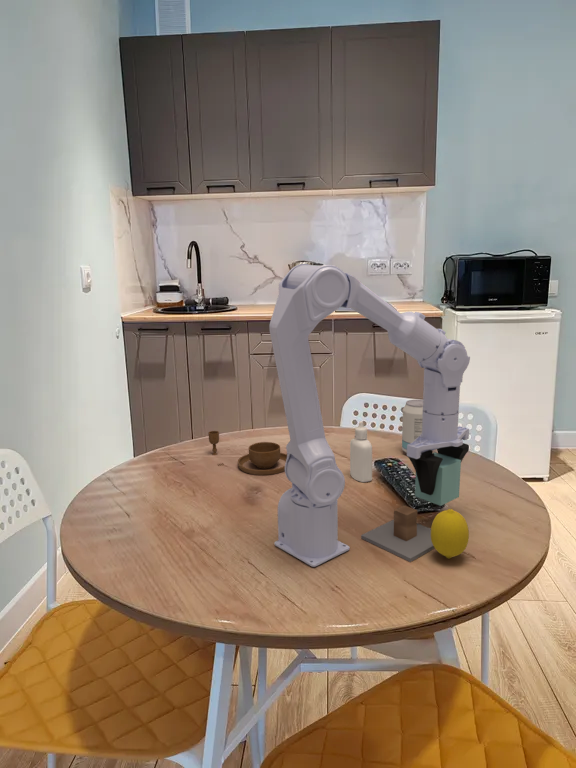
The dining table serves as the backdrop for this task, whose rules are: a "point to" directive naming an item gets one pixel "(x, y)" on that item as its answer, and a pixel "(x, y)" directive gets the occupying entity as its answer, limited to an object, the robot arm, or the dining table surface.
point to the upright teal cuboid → (443, 482)
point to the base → (400, 541)
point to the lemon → (449, 533)
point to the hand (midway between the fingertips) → (437, 488)
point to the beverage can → (411, 422)
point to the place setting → (256, 456)
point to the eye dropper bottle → (361, 455)
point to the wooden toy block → (405, 523)
